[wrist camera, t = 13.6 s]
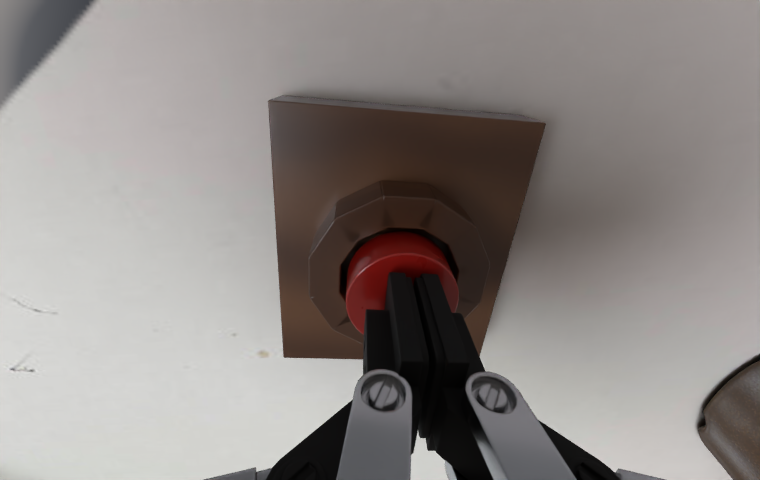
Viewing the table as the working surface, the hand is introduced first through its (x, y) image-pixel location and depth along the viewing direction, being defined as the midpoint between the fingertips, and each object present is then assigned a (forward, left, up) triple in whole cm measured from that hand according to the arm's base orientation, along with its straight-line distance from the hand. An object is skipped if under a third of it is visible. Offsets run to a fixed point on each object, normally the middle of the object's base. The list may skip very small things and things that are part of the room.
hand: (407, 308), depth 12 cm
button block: (0, 0, -6) cm, 6 cm away
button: (0, 0, -2) cm, 2 cm away
